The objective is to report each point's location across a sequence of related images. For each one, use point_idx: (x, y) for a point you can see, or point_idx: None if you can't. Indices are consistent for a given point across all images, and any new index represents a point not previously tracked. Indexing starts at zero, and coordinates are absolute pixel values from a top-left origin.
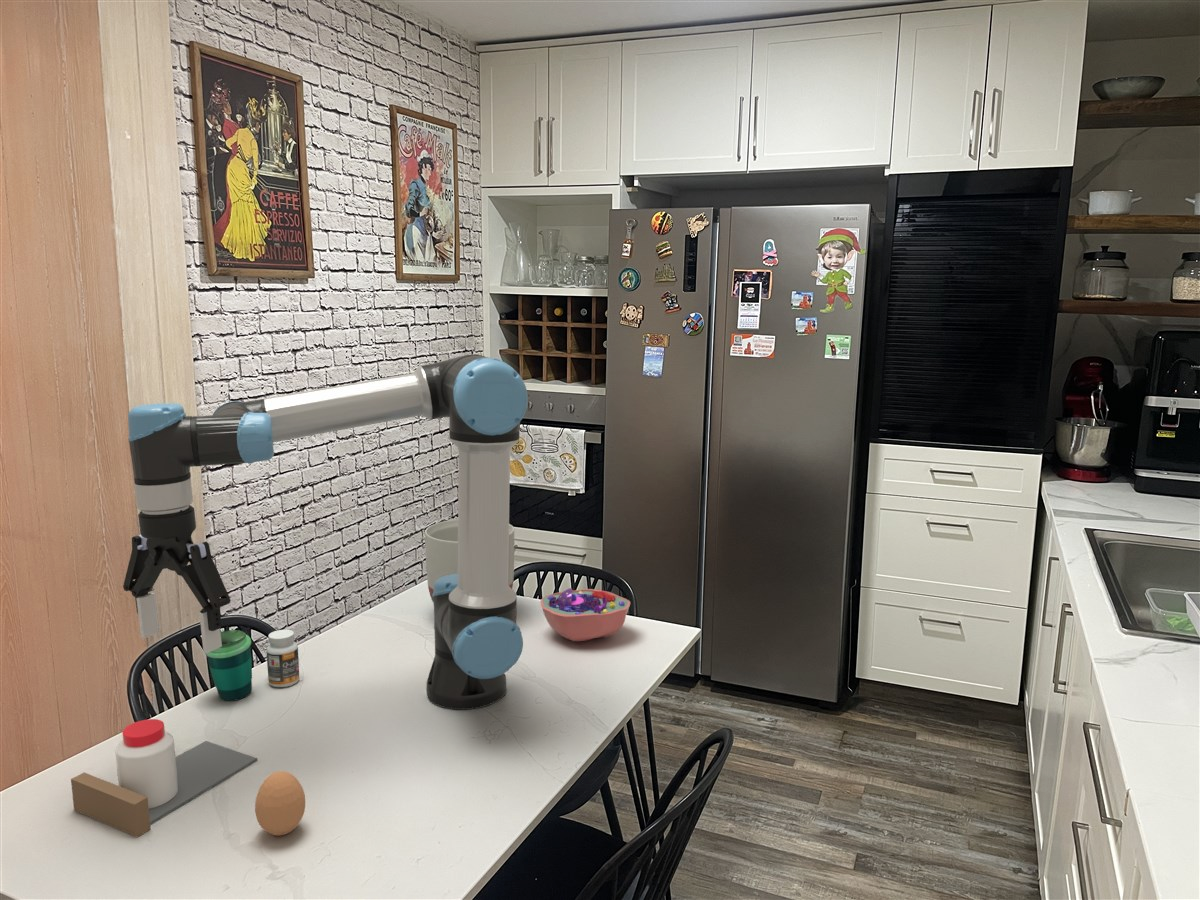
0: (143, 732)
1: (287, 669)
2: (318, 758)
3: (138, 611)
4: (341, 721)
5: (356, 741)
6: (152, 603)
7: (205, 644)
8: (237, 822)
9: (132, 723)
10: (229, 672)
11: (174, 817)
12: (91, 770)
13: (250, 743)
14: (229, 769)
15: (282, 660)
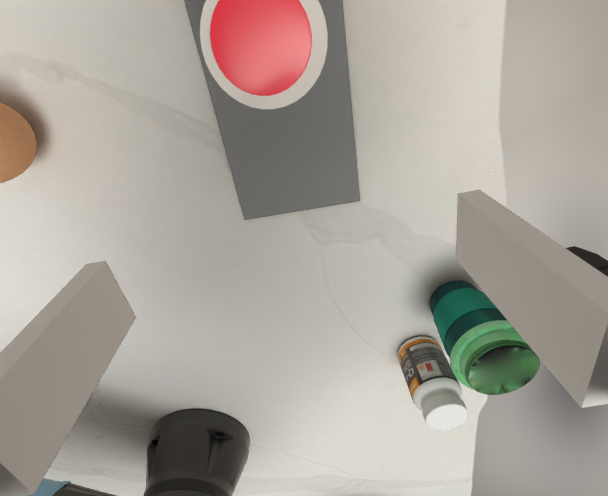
0: (235, 26)
1: (407, 367)
2: (183, 269)
3: (562, 251)
4: (253, 335)
5: (188, 318)
6: (541, 339)
7: (69, 284)
8: (89, 101)
9: (310, 35)
10: (452, 316)
11: (177, 38)
12: (455, 21)
13: (300, 238)
14: (245, 176)
15: (416, 376)
